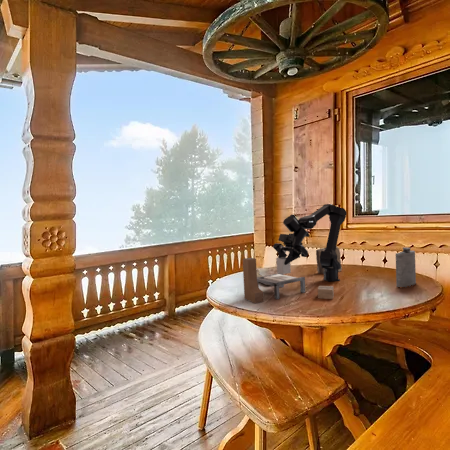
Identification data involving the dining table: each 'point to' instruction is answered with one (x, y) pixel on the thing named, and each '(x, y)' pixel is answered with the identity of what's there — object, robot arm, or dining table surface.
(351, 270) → the dining table surface
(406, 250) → the flask
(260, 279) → the frame
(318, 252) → the mineral sample
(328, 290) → the stand
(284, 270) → the gray rectangular block
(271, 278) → the trapdoor
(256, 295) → the wooden block
